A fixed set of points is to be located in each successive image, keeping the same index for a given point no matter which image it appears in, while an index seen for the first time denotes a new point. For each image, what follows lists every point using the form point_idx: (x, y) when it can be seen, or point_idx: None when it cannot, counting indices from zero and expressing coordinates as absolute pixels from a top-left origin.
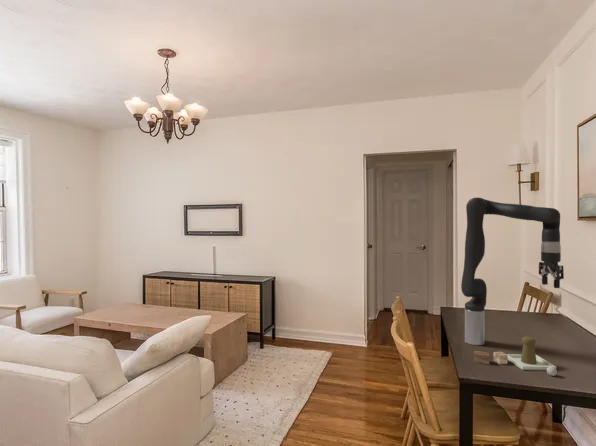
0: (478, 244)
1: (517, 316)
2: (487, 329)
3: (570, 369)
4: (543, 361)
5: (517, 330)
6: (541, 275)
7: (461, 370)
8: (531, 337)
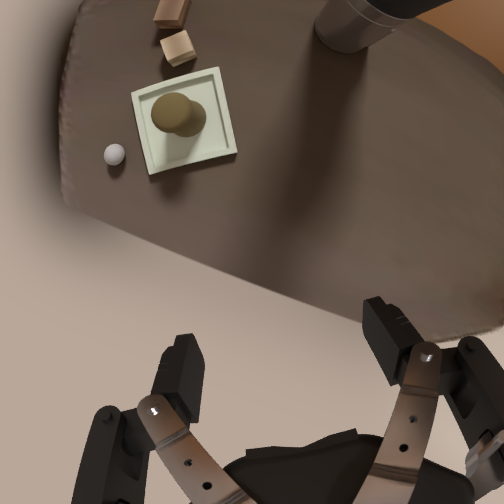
0: None
1: None
2: (457, 124)
3: (170, 211)
4: (190, 156)
5: (456, 202)
6: (423, 348)
7: None
8: (171, 120)
